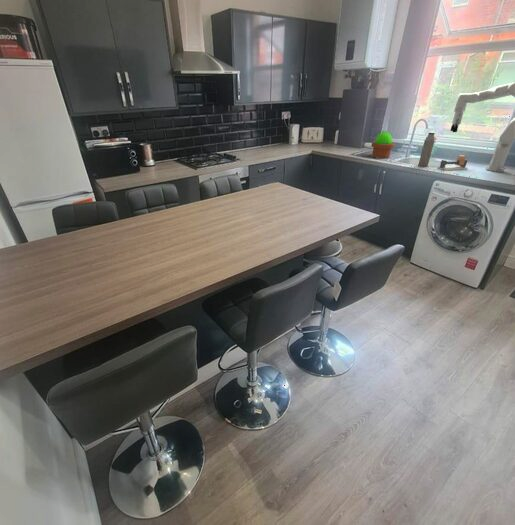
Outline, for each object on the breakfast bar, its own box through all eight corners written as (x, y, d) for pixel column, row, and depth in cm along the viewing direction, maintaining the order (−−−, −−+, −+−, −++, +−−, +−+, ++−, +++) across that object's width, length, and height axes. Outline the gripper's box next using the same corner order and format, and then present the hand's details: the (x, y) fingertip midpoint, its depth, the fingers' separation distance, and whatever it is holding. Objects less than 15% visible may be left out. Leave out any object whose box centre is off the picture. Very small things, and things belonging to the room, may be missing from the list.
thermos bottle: (416, 164, 273) (424, 132, 259) (424, 164, 273) (433, 132, 259) (420, 166, 266) (429, 133, 252) (429, 166, 267) (438, 133, 252)
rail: (467, 169, 255) (470, 160, 252) (444, 170, 253) (447, 161, 249) (458, 166, 264) (461, 158, 260) (436, 168, 261) (439, 159, 258)
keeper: (463, 165, 256) (466, 156, 252) (459, 166, 255) (462, 156, 251) (459, 164, 260) (462, 155, 256) (454, 164, 260) (458, 155, 256)
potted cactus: (389, 159, 296) (395, 132, 283) (367, 157, 306) (371, 131, 293) (393, 155, 312) (398, 130, 299) (372, 154, 322) (376, 129, 310)
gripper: (467, 110, 242) (460, 132, 251) (462, 109, 256) (456, 130, 265) (456, 110, 245) (450, 132, 253) (452, 109, 259) (446, 130, 267)
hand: (453, 131), depth 259 cm, fingers open, 9 cm apart
